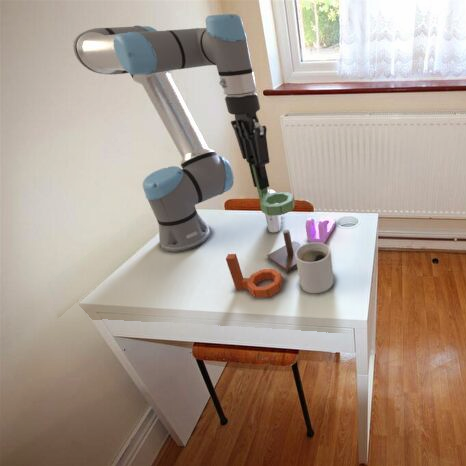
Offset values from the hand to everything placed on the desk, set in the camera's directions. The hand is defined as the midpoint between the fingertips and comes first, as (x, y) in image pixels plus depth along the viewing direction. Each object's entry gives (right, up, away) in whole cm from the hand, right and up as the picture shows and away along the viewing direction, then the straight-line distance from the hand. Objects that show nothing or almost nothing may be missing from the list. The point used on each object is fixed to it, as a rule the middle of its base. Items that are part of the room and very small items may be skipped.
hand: (261, 186), depth 88 cm
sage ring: (+4, -5, -1) cm, 7 cm away
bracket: (+15, -12, +20) cm, 28 cm away
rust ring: (0, -27, -2) cm, 27 cm away
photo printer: (-2, -10, +25) cm, 27 cm away
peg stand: (+7, -20, +8) cm, 23 cm away
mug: (+16, -25, -1) cm, 30 cm away
